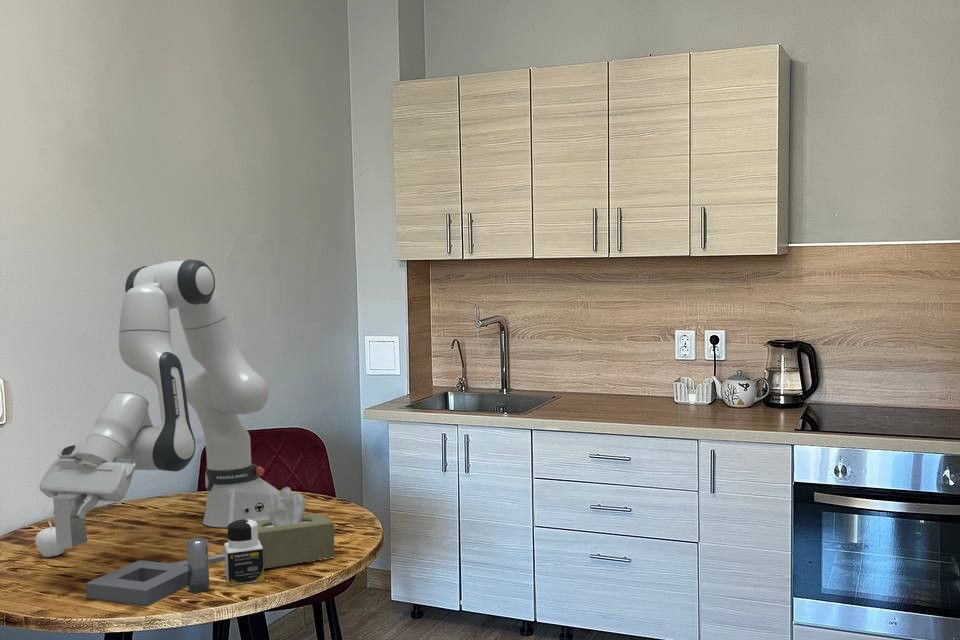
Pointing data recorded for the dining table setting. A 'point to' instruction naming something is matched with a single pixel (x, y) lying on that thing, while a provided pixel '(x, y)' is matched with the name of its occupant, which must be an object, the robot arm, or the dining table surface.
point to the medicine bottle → (243, 553)
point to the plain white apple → (48, 542)
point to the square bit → (69, 520)
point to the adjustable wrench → (210, 559)
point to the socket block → (139, 583)
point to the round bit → (198, 565)
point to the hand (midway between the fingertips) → (67, 516)
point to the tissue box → (293, 532)
